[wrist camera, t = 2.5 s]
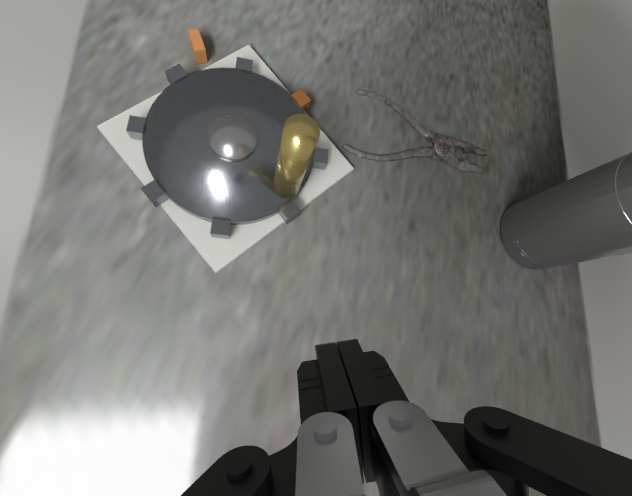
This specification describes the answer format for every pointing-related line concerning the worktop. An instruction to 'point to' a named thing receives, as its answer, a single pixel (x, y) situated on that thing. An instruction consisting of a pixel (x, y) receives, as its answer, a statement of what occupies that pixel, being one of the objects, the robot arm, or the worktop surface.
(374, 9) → the worktop surface
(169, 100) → the sprocket
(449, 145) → the pliers
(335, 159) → the base plate
